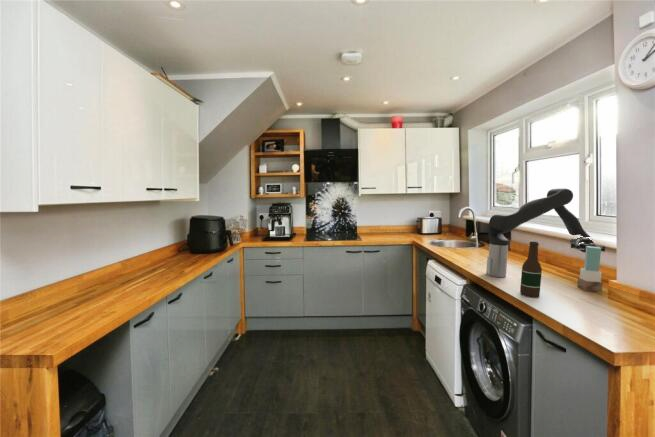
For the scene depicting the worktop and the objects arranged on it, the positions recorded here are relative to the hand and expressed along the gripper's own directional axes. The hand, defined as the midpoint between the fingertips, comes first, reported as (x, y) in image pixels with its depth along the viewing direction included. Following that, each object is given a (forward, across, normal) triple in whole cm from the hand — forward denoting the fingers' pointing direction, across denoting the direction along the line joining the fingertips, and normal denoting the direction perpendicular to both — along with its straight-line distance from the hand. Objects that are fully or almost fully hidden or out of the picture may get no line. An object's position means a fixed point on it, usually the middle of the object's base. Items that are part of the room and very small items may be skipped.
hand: (589, 248), depth 172 cm
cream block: (+11, 0, +14) cm, 18 cm away
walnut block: (+11, 0, +19) cm, 22 cm away
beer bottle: (+39, -24, +20) cm, 50 cm away
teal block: (+11, 0, +9) cm, 14 cm away
